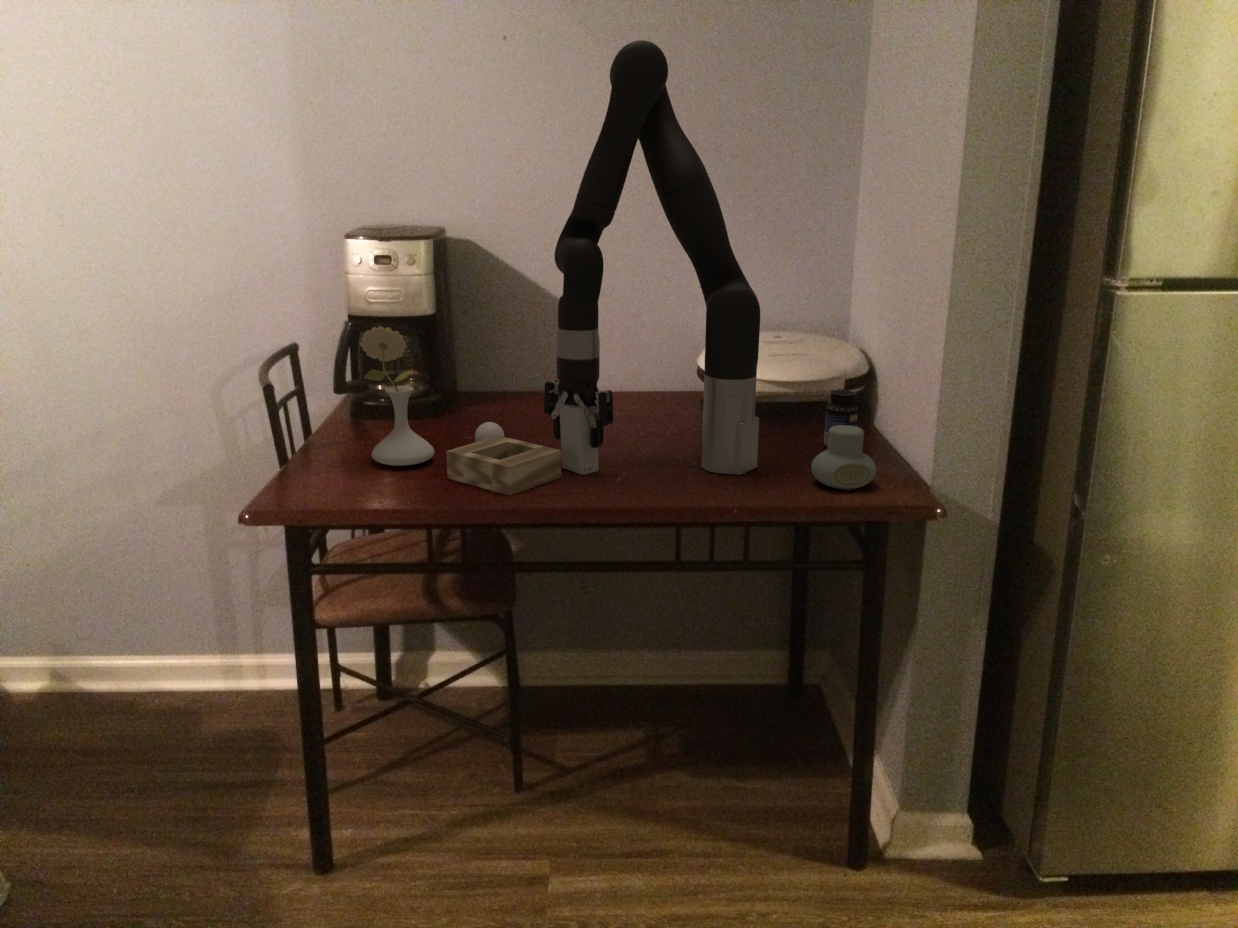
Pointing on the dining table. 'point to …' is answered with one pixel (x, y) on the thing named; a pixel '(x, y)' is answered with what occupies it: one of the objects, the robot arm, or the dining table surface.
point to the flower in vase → (394, 402)
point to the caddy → (504, 465)
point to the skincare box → (577, 441)
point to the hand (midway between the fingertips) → (577, 442)
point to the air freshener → (844, 460)
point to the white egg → (488, 431)
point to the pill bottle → (840, 411)
